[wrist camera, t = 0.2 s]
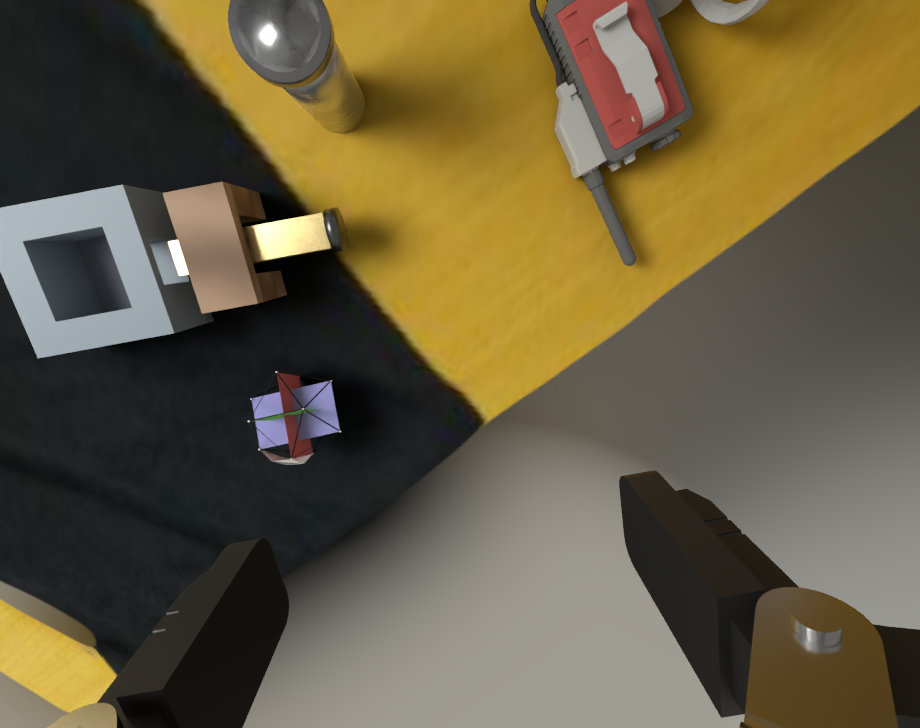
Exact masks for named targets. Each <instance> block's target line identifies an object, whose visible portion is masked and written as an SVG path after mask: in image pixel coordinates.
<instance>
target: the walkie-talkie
mask: <svg viewBox="0 0 920 728" xmlns="http://www.w3.org/2000/svg"><path fill="white" fill-rule="evenodd" d="M546 1H547V2H548V3H547V6H546V9H545V12H544V14H543V18H542V19H541V16H540V14H539V12H538V10H537V6H536V0H530V11H531V15H532V17H533V19H534V22H535V24H536V26H537V28H538V31H539V33H540V35H541V37H542V40H543V42H544V44H545V47H546V49H547V51H548V53H549V56H550V58H551V60H552V63H553V65H554V68H555V71H556V83H557V89H556V91H555V92H556V95H557V97H558V99H559V105H558V111H557V116H556V122H555V128H554V131H555V133H556V135H557V137H558V140H559V142H560V144H561V146H562V148H563V151H564V153H565V155H566V157H567V160H568V162H569V164H570V166H571V169H570V171H571V173H572V175H573V177H574V179H575V178H577V177H579V176H582V177H583V179H584V181H585V184H586V186H587V188H588V190H590V191H591V192H592V195H593V197H594V199H595V201H596V203H597V206H598V208H599V210H600V212H601V214H602V217H603V219H604V221H605V223H606V225H607V228H608V230H609V232H610V234H611V236H612V239H613V241H614V243H615V245H616V247H617V250H618V252H619V254H620V256H621V259H622V261H623V263H624V264H625V265H627V266H631V265H633V264H634V263H635V261H636V256H635V253H634V251H633V249H632V247H631V244H630V242H629V240H628V238H627V235H626V233H625V231H624V228H623V226H622V224H621V222H620V219H619V217H618V215H617V213H616V210H615V208H614V206H613V203H612V201H611V199H610V197H609V194H608V192H607V190H606V188H605V185H604V181H605V180H604V178H603V175H602V173H601V171H600V169H599V165H602V166H604V167H606V166H607V168H610V170H611V172H613V171H615V170H616V169H618V168H620V167H621V163H620V161H622V160H624V163H625V165H626V164H628V163H630V162H632V161H633V160H635V159H636V157H635V154H634V153H636V151H635V150H637V149H639V148H640V147H642V146H644V145H645V144H647V143H649V142H651V141H653V143H652V144H651V146H650V148H651V150H652V151H656V150H658V149H660V148H661V147H663V146H665V145H667V144H669V143H671V142H673V141H674V140H676V139H678V138H679V137H680V136H681V132H680V130H674V128H675V127H677V126H678V125H680V124H682V123H684V122H685V121H687V120H689V119H690V118H691V117H692V113H693V108H692V105H691V102H690V100H689V97H688V94H687V92H686V89H685V86H684V84H683V81H682V78H681V75H680V73H679V70H678V67H677V65H676V62H675V59H674V57H673V54H672V51H671V49H670V47H668V44H667V39H665V36H664V31H662V28H661V23H660V22H659V20H658V14H656V12H655V10H654V9H655V6H653V4H652V2H651V0H546ZM562 78H563V80H562ZM621 158H622V159H621Z"/></svg>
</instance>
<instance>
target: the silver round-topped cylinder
mask: <svg viewBox="0 0 920 728" xmlns="http://www.w3.org/2000/svg"><path fill="white" fill-rule="evenodd" d="M228 22H229V30H230V35H231V38H232V41H233V43H234V46H235V48H236V50H237V51H238V53H239V55H240V56H241V58H242V59H243V60H244V61H245V63H246V64H247V65H248V66H249V67H250V68H251V69H253V70H254V71H255V72H256V73H257V74H258V75H259V76H260V77H262V78H263V79H264V80H266V81H267V82H269V83H271V84H273V85H276V86H279V87H283V88H284V89H285V90H286V91H287V92H288V93H289V94H290V95H291V96H292V97H293V98H294V99H295V100H296V101H297V102H298V103H299V104H300V105H301V106H302V107H303V108H304V109H305V110H306V111H307V112H308V113H309V114H310V115H311V116H312V117H313V118H315V119H316V120H317V121H318V122H319V123H320V124H321V125H322V126H323V127H324V128H326V129H327V130H329V131H332V132H336V133H345V132H348V131H351V130H352V129H354V128H355V127H356V126H357V125H358V124H359V123H360V122H361V120H362V118H363V115H364V112H365V98H364V94H363V92H362V90H361V88H360V86H359V84H358V82H357V81H356V79H355V77H354V75H353V73H352V71H351V70H350V68H349V66H348V64H347V62H346V60H345V59H344V57H343V55H342V53H341V51H340V49H339V48H338V46H337V44H336V42H335V40H334V30H333V25H332V21H331V18H330V15H329V13H328V11H327V9H326V7H325V5H324V3H323V1H322V0H231V1H230V5H229V11H228Z"/></svg>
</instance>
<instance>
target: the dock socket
mask: <svg viewBox="0 0 920 728" xmlns="http://www.w3.org/2000/svg"><path fill="white" fill-rule="evenodd" d="M174 240H178V239H177V236H176V233H175V230H174V227H173V224H172V221H171V218H170V215H169V212H168V209H167V206H166V203H165V200H164V197H163V192H158V191H153V190H148V189H143V188H137V187H132V186H127V185H118V186H113V187H108V188H102V189H97V190H92V191H86V192H81V193H76V194H71V195H65V196H60V197H55V198H50V199H44V200H39V201H34V202H29V203H23V204H18V205H13V206H8V207H2V208H0V272H1V274H2V276H3V279H4V281H5V283H6V286H7V288H8V290H9V293H10V295H11V297H12V300H13V302H14V304H15V306H16V309H17V311H18V313H19V316H20V318H21V320H22V323H23V325H24V327H25V330H26V332H27V334H28V336H29V339H30V341H31V343H32V346H33V348H34V350H35V353H36V355H37V357H38V358H42V357H48V356H53V355H59V354H64V353H70V352H75V351H81V350H86V349H91V348H97V347H102V346H108V345H113V344H119V343H124V342H130V341H135V340H141V339H146V338H152V337H157V336H162V335H168V334H173V333H177V332H180V331H183V330H187V329H190V328H193V327H196V326H200V325H203V324H206V323H209V322H212V321H214V320H213V317H212V314H211V312H209V313H203V314H202V312H201V309H200V306H199V303H198V300H197V297H196V294H195V291H194V288H193V285H192V282H191V279H190V276H189V275H185V276H179V274H178V271H177V268H176V265H175V262H174V259H173V256H172V253H171V250H170V247H169V244H168V241H174Z"/></svg>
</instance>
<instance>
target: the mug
mask: <svg viewBox="0 0 920 728" xmlns="http://www.w3.org/2000/svg"><path fill="white" fill-rule="evenodd" d="M682 1H683V0H651V2H652V4H653V6H655V9H654V10H655V12H656V14H658V18H659V17H662V16H664V15H666V14H667V13H669V12H670V11H672V10H673V9H674V8H676V7H677V6H678V5H679V4H680V3H681V2H682ZM768 1H769V0H747V1H744V2H741V3H738V4H733V3H728V2H724V1H722V0H690V2H691V3H692V5H693V6H694V8H695V9H696V10H697V11H698V12H699V13H700V14H701V15H702V16H703V17H704V18H705V19H707V20H708V21H710V22H711V23H715V24H722V25H731V24H735V23H738V22H742V21H743V20H745V19H746V18H748V17H749V16H751V15H753V14H754V13H756V12H757V11H758V10H760V9H761V8H762V7H763V6H764V5H765V4H766V3H767V2H768Z"/></svg>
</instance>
